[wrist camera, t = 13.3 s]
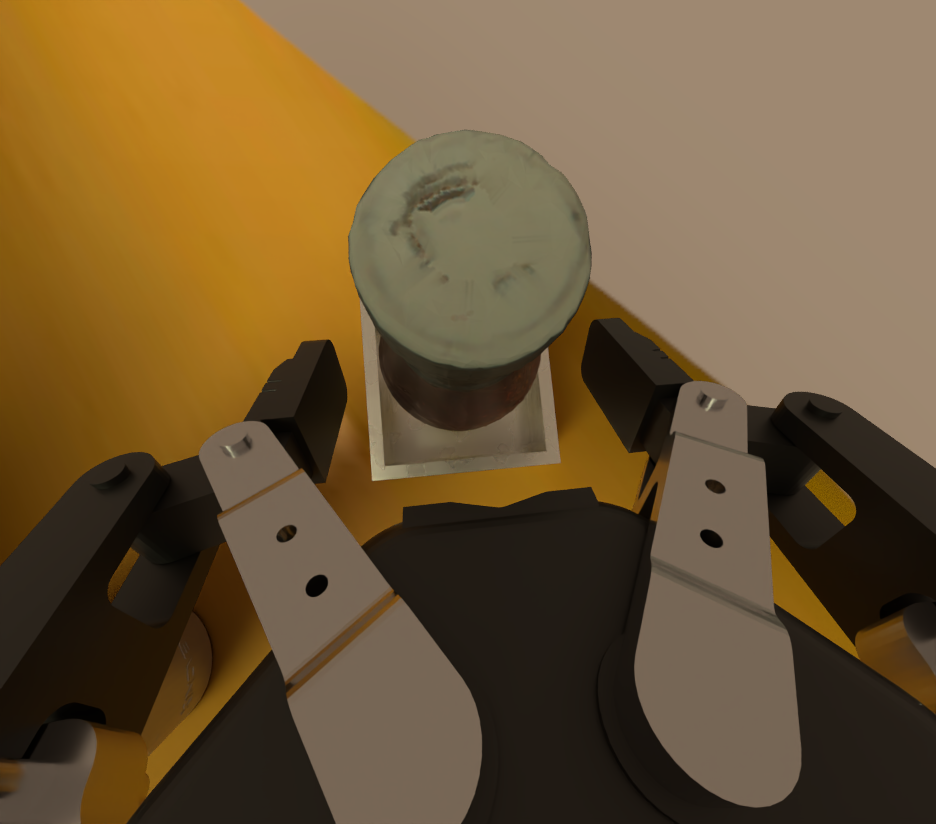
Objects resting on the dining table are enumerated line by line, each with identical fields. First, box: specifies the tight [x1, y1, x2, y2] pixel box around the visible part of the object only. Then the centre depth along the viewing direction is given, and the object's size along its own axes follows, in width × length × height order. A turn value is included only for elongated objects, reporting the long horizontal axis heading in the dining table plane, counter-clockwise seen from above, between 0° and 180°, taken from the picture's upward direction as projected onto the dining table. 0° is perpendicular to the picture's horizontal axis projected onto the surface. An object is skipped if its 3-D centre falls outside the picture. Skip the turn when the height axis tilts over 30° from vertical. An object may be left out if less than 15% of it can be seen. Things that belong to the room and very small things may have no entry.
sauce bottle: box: [348, 130, 591, 431], centre depth 15 cm, size 7×6×20 cm
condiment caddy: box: [360, 299, 561, 481], centre depth 24 cm, size 12×12×4 cm
